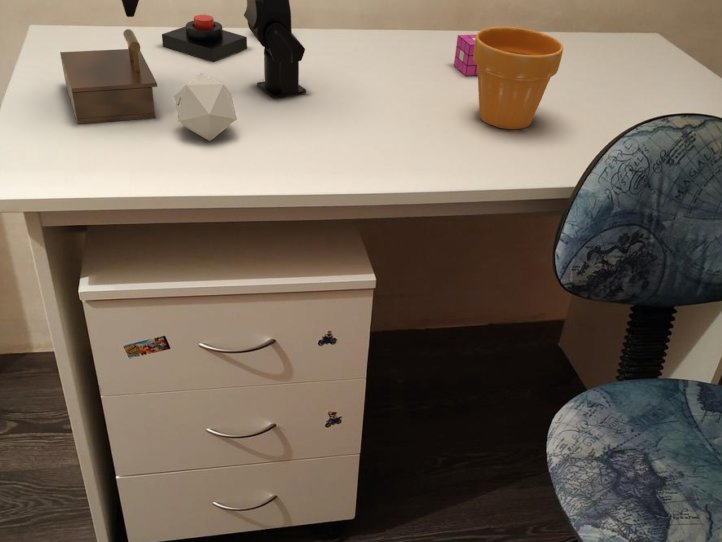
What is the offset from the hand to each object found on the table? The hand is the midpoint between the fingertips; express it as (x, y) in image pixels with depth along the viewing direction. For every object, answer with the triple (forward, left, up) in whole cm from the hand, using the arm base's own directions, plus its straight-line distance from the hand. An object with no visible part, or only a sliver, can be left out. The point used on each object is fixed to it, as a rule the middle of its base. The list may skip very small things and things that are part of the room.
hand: (130, 16), depth 123 cm
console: (+18, -20, -13) cm, 30 cm away
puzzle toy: (-11, -62, -13) cm, 64 cm away
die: (-17, -4, -13) cm, 21 cm away
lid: (0, +4, -8) cm, 9 cm away
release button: (+18, -20, -9) cm, 29 cm away
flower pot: (-32, -52, -13) cm, 62 cm away
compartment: (0, +5, -13) cm, 14 cm away
